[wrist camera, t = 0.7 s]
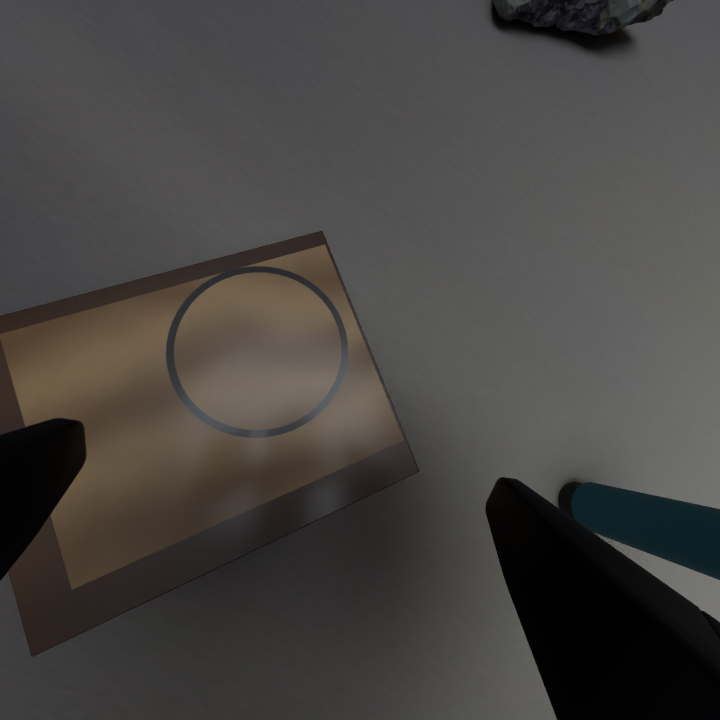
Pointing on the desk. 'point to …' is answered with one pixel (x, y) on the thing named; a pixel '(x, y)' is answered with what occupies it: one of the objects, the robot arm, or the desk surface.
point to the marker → (648, 523)
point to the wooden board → (193, 425)
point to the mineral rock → (581, 13)
